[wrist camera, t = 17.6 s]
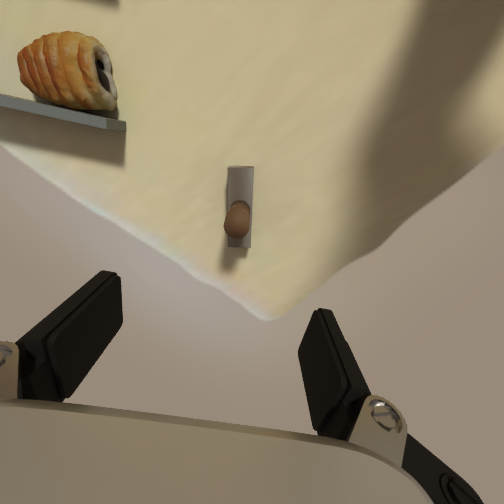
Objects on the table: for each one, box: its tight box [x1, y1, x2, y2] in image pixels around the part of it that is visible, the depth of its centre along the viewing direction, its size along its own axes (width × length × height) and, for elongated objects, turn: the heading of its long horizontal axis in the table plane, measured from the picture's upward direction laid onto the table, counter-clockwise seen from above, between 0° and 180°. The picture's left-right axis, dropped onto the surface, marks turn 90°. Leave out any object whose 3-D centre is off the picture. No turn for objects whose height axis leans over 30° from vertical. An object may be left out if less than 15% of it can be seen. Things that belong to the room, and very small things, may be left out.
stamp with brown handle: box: [224, 166, 254, 248], centre depth 27 cm, size 3×10×9 cm, turn 178°
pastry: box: [17, 31, 117, 111], centre depth 24 cm, size 9×7×4 cm
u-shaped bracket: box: [0, 94, 126, 131], centre depth 22 cm, size 16×16×4 cm
